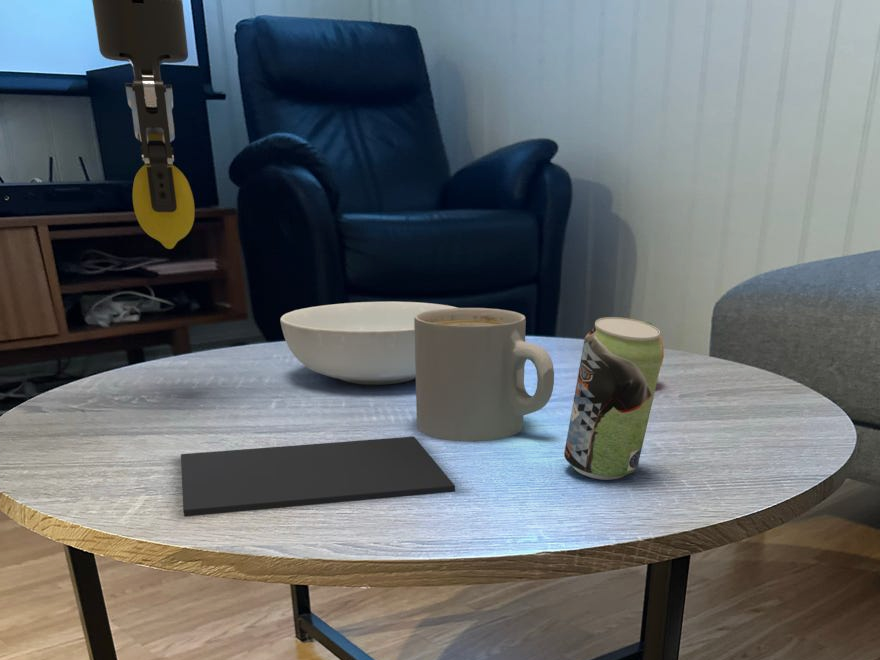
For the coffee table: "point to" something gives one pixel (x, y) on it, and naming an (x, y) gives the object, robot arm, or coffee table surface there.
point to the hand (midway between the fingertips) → (164, 208)
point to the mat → (308, 475)
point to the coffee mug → (476, 373)
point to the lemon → (164, 223)
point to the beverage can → (613, 397)
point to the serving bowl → (357, 340)
